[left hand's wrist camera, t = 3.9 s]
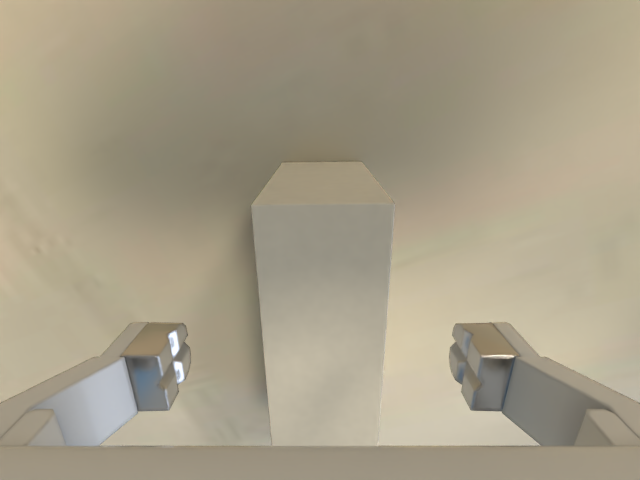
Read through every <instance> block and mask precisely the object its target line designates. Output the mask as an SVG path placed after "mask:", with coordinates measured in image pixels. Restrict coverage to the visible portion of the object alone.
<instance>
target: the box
mask: <svg viewBox="0 0 640 480" xmlns="http://www.w3.org/2000/svg"><path fill="white" fill-rule="evenodd" d="M394 212H395V203H394V202H393V201H392V199H391V198H390V197H389V196H388V194H387V193H386V192H385V190H384V189H383V188H382V187H381V185H380V184H379V183H378V182H377V180H376V179H375V178H374V177H373V175H372V174H371V173H370V171H369V170H368V169H367V168H366V166H365V165H364V164H363V163H362V162H361V161H355V162H282V164H281V165H280V166H279V168H278V169H277V170H276V172H275V173H274V174H273V176H272V177H271V179H270V180H269V181H268V183H267V184H266V185H265V187H264V188H263V189H262V191H261V192H260V193H259V195H258V196H257V197H256V199H255V200H254V202H253V203H252V204H251V214H252V226H253V237H254V249H255V260H256V272H257V283H258V295H259V306H260V318H261V329H262V341H263V352H264V364H265V375H266V387H267V398H268V410H269V421H270V433H271V444H272V446H378V439H379V425H380V411H381V397H382V382H383V368H384V354H385V340H386V326H387V312H388V297H389V283H390V269H391V255H392V241H393V226H394Z"/></svg>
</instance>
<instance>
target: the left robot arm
mask: <svg viewBox="0 0 640 480" xmlns="http://www.w3.org/2000/svg"><path fill="white" fill-rule="evenodd" d="M187 336H188V334H187V329H186V325H185V324H183V323H157V322H151V323H149V322H134V323H131V324H129V325H128V326H127V328H126V329H125V330H124V331H123V332H122V333H121V334H120V335H119V336H118V337H117V338H116V340H115V341H114V342H113V343H112V344H111V345H110V346H109V347H108V348H107V349H106V350H105V352H104V353H103V354H102V355H101V356H100V357H93V358H91V359H89V360H87V361H85V362H83V363H81V364H79V365H77V366H75V367H72V368H70V369H68V370H66V371H64V372H62V373H60V374H58V375H56V376H54V377H52V378H50V379H48V380H46V381H44V382H42V383H40V384H38V385H36V386H34V387H32V388H30V389H28V390H26V391H24V392H22V393H20V394H17V395H15V396H13V397H11V398H9V399H7V400H5V401H3V402H1V403H0V480H640V403H639V402H637V401H635V400H632V399H630V398H628V397H626V396H624V395H622V394H620V393H618V392H616V391H614V390H612V389H610V388H608V387H606V386H604V385H602V384H600V383H598V382H596V381H594V380H592V379H590V378H588V377H586V376H584V375H582V374H580V373H578V372H576V371H574V370H572V369H569V368H567V367H565V366H563V365H561V364H559V363H557V362H555V361H553V360H551V359H549V358H547V357H540V356H539V355H538V354H537V353H536V352H535V350H534V349H533V348H532V347H531V346H530V345H529V344H528V343H527V342H526V341H525V340H524V338H523V337H522V336H521V335H520V334H519V333H518V332H517V331H516V330H515V329H514V328H513V326H512V325H511V324H509V323H507V322H493V323H457V324H455V326H454V328H453V333H452V336H453V337H454V339H455V341H456V342H455V343H454V344H453V345H452V346H451V347H450V353H449V362H450V368H451V372H452V374H453V377H454V379H455V380H456V381H457V382H459V383H460V384H462V390H461V392H462V394H463V396H464V398H465V400H466V402H467V404H468V406H469V408H470V410H474V411H502V413H503V414H504V415H505V416H506V417H508V418H509V419H510V420H511V421H512V422H514V423H515V424H516V425H517V426H518V427H520V428H521V429H522V430H523V431H524V432H526V433H527V434H528V435H529V436H530V437H532V438H533V439H534V440H535V441H536V442H538V443H539V444H540V445H541V446H99V445H100V444H101V443H102V442H104V441H105V440H106V439H107V438H108V437H110V436H111V435H112V434H113V433H115V432H116V431H117V430H118V429H119V428H121V427H122V426H123V425H124V424H125V423H127V422H128V421H129V420H130V419H131V418H133V417H134V416H135V415H136V414H137V413H138V411H165V410H170V408H171V406H172V404H173V402H174V400H175V398H176V396H177V394H178V392H179V390H178V384H180V383H181V382H183V381H184V380H185V379H186V376H187V374H188V372H189V368H190V363H191V352H190V347H189V346H188V345H187V344H186V343H185V342H184V341H185V339H186V337H187Z"/></svg>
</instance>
